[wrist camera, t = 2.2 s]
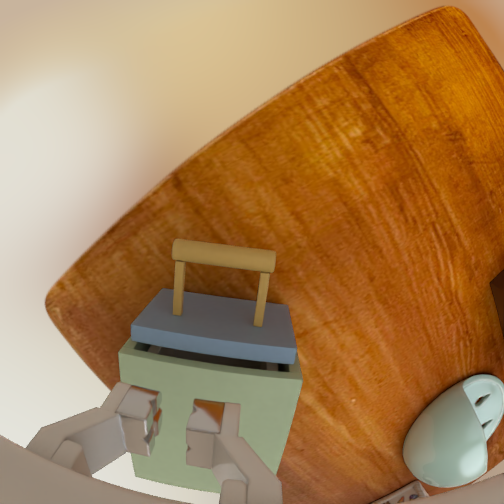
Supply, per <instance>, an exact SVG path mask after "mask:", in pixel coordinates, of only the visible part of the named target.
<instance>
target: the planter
mask: <svg viewBox="0 0 504 504" xmlns="http://www.w3.org/2000/svg"><path fill="white" fill-rule="evenodd" d="M483 396H484V397H483ZM480 397H482V399H481V400H480V401H479V402H478V403H477V404H475V403H476V401H477V399H479V398H480ZM503 413H504V384H503V383H502V381H501V380H500V379H499V378H497V377H495V376H493V375H489V374H480V375H475V376H472V377H470V378H467V379H465V380H463V381H461V382H459V383H457V384H456V385H454V386H452V387H451V388H449V389H448V390H446V391H445V392H443V393H442V394H441V395H440V396H438V397H437V398H436V399H435V400H434V401H433V402H432V403H431V404H430V405H429V406H428V407H427V408H426V409H425V410H424V411H423V412H422V413H421V414H420V416H419V417H418V418H417V419H416V421H415V422H414V424H413V425H412V427H411V428H410V430H409V432H408V434H407V436H406V439H405V441H404V445H403V458H404V461H405V464H406V465H407V467H408V468H409V470H410V471H411V473H412V474H413V475H414V476H415V477H416V478H418V479H419V480H420V481H422V482H424V483H426V484H429V485H432V486H436V487H456V486H461V485H464V484H467V483H469V482H471V481H473V480H475V479H477V478H478V477H480V476H481V475H483V474H484V473H485V472H486V471H487V460H488V455H487V446H486V441H487V440H488V438H489V437H490V436H491V435H492V433H493V432H494V431H495V429H496V428H497V426H498V424H499V422H500V420H501V418H502V416H503ZM484 423H485V424H484ZM482 424H484V425H483V426H482Z"/></svg>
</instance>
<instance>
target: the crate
mask: <svg viewBox="0 0 504 504" xmlns="http://www.w3.org/2000/svg"><path fill="white" fill-rule="evenodd" d="M490 286H491V289H492V292H493V296H494V300H495V303H496V307H497V311H498V315H499V319H500V324H501V328H502V333H503V337H504V270H503V271H502V272H501V273H500V274H499V275H498V276H497V277H495V278H494V279H493V280H492V281H491V282H490Z"/></svg>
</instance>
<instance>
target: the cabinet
mask: <svg viewBox="0 0 504 504" xmlns="http://www.w3.org/2000/svg"><path fill="white" fill-rule="evenodd" d="M150 347H151V344H146V343H141V342H136V341H132V340H131V337H130V338H129V339H128V341H127V342H126V343H125V344H124V346H123V347H122V348H121V349H120V351H119V352H118V357H119V369H120V379H121V382H123V383H127V384H131V385H136V386H140V387H144V388H148V389H152V390H156V391H160V392H161V394H162V402H161V404H160V408H161V409H162V415H163V416H162V425H161V429H160V432H159V435H158V436H156V437H155V446H154V448H153V451H152V453H151V456H150V457H147V456H143V455H138V454H134V453H131V456H132V462H133V467H134V472H135V476H136V477H139V478H143V479H147V480H151V481H155V482H159V483H164V484H168V485H173V486H178V487H183V488H188V489H194V490H200V491H207V492H214V493H221V486H220V484H219V483H218V481H217V479H216V477H215V475H214V474H213V472H212V469H206V468H200V467H195V466H190V465H186V450H187V446H188V445H187V444H186V427H187V423H188V420H189V416H190V414H191V413H192V410H193V402H194V399H195V398H198V399H205V400H211V401H219V402H230V403H240V404H241V410H240V422H239V434H238V437H243V438H244V439H245V441H246V442H247V443H248V444H249V445H250V447H251V448H252V449H253V450H254V451H255V453H256V454H257V455H258V456H259V457H260V459H261V460H262V461H263V462H264V463H265V464H266V466H267V467H268V468H269V469H270V470H271V471H272V472H273V474H274V475H275V476H276V473H277V470H278V467H279V464H280V461H281V457H282V454H283V451H284V447H285V444H286V441H287V437H288V434H289V430H290V427H291V423H292V420H293V416H294V413H295V409H296V405H297V402H298V398H299V394H300V390H301V386H302V382H303V378H302V374H301V368H300V363H299V359H298V354H297V352H296V357H295V361H294V364H282V363H278V371H269V370H259V369H250V368H242V367H234V366H227V365H219V364H212V363H206V362H199V361H193V360H187V359H181V358H176V357H170V356H165V355H160V354H155V353H150V352H147V351H148V350H149V348H150Z"/></svg>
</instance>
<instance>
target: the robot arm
mask: <svg viewBox="0 0 504 504" xmlns="http://www.w3.org/2000/svg"><path fill="white" fill-rule="evenodd" d="M161 402H162V394H161V392H160V391H156V390H152V389H148V388H144V387H140V386H136V385H131V384H127V383H123V382H118V383H116V385H115V386H114V388H113V389H112V391H111V392H110V394H109V395H108V397H107V398H106V400H105V401H104V403H103V405H102V406H101V408H97V407H96V408H93V409H90V410H88V411H85V412H83V413H80V414H77V415H75V416H72V417H70V418H67V419H64V420H61V421H58V422H56V423H53V424H50V425H47V426H45V427H42V428H41V429H40V430H39V432H38V433H37V434H36V435H35V437H34V438H33V439H32V440H31V442H30V443H29V444H28V446H27V447H26V448H23V447H22V446H19V445H18V444H16V443H14V442H12V441H10V440H8V439H6V438H5V437H3V436H1V435H0V504H191V503H186V502H180V501H175V500H170V499H165V498H161V497H157V496H153V495H149V494H145V493H141V492H137V491H133V490H130V489H126V488H123V487H120V486H116V485H113V484H110V483H107V482H104V481H101V480H98V479H95V478H92V474H94V473H95V472H97V471H99V470H100V469H102V468H103V467H105V466H106V465H108V464H109V463H111V462H112V461H114V460H116V459H117V458H119V457H120V456H122V455H123V454H125V453H126V452H130V453H134V454H138V455H143V456H147V457H150V456H151V453H152V451H153V448H154V446H155V437H156V436H158V435H159V432H160V429H161V425H162V416H163V415H162V409H161V408H160V404H161ZM240 410H241V404H240V403H230V402H219V401H211V400H205V399H198V398H195V399H194V402H193V410H192V413H191V414H190V416H189V420H188V423H187V427H186V444H187V445H188V446H187V450H186V465H190V466H195V467H200V468H206V469H212V472H213V474H214V475H215V477H216V479H217V481H218V483H219V484H220V486H221V493H220V500H219V504H283V502H282V484H281V481H280V480H279V479H278V478H277V477H276V476H275V475H274V474H273V472H272V471H271V470H270V469H269V468H268V467H267V466H266V464H265V463H264V462H263V461H262V460H261V459H260V457H259V456H258V455H257V454H256V453H255V451H254V450H253V449H252V448H251V447H250V445H249V444H248V443H247V442H246V441H245V439H244V438H243V437H238V434H239V422H240ZM395 504H504V473H502V474H499V475H496V476H493V477H490V478H488V479H485V480H483V481H479V482H477V483H474V484H471V485H468V486H465V487H461V488H458V489H455V490H451V491H448V492H444V493H441V494H437V495H433V496H429V497H425V498H420V499H416V500H411V501H406V502H401V503H395Z"/></svg>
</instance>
